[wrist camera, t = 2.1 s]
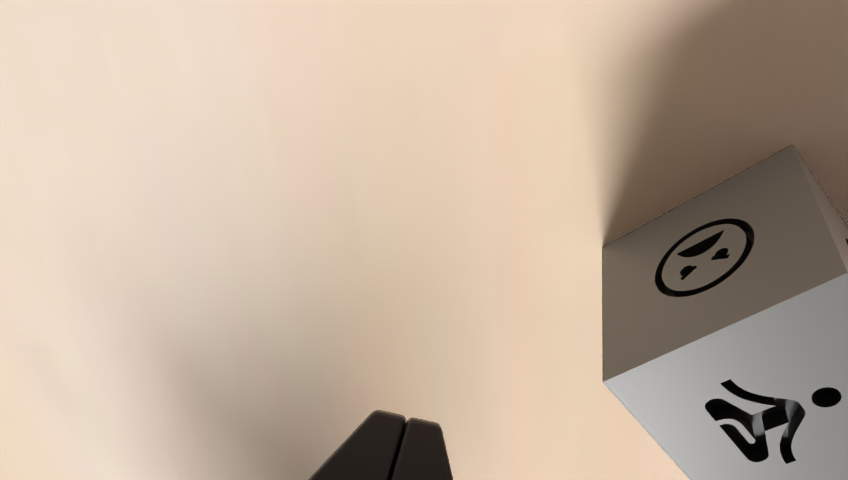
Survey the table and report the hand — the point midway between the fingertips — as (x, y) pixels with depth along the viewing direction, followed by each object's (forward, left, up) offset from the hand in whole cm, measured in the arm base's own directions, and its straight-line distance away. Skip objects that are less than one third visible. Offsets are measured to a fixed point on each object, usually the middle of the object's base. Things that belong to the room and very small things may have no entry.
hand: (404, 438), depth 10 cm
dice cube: (-7, +2, -11) cm, 13 cm away
